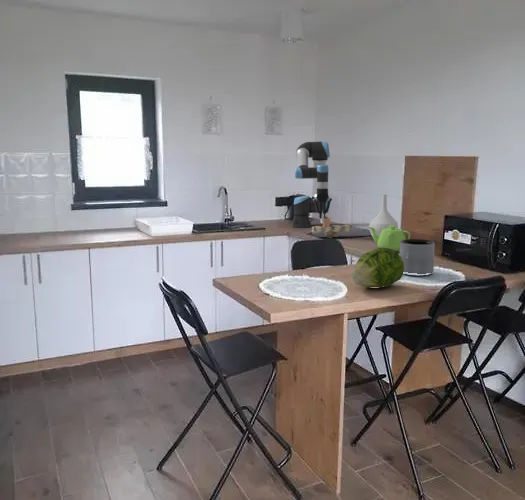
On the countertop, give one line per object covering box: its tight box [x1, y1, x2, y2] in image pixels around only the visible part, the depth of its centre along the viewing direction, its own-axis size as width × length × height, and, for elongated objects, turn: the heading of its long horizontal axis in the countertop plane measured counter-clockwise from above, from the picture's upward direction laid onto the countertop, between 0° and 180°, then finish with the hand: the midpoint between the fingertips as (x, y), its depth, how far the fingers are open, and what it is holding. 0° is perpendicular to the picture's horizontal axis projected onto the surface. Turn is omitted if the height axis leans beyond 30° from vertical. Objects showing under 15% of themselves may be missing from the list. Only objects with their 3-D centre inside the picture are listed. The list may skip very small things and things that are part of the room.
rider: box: [322, 216, 331, 227], centre depth 352 cm, size 4×3×8 cm
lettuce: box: [351, 247, 404, 288], centre depth 225 cm, size 17×23×17 cm
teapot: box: [368, 226, 411, 253], centre depth 307 cm, size 19×20×14 cm
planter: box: [399, 238, 436, 274], centre depth 249 cm, size 16×16×16 cm
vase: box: [368, 194, 399, 238], centre depth 336 cm, size 18×18×30 cm
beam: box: [311, 224, 352, 239], centre depth 354 cm, size 26×8×8 cm, turn 101°
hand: (322, 223), depth 352 cm, fingers closed
